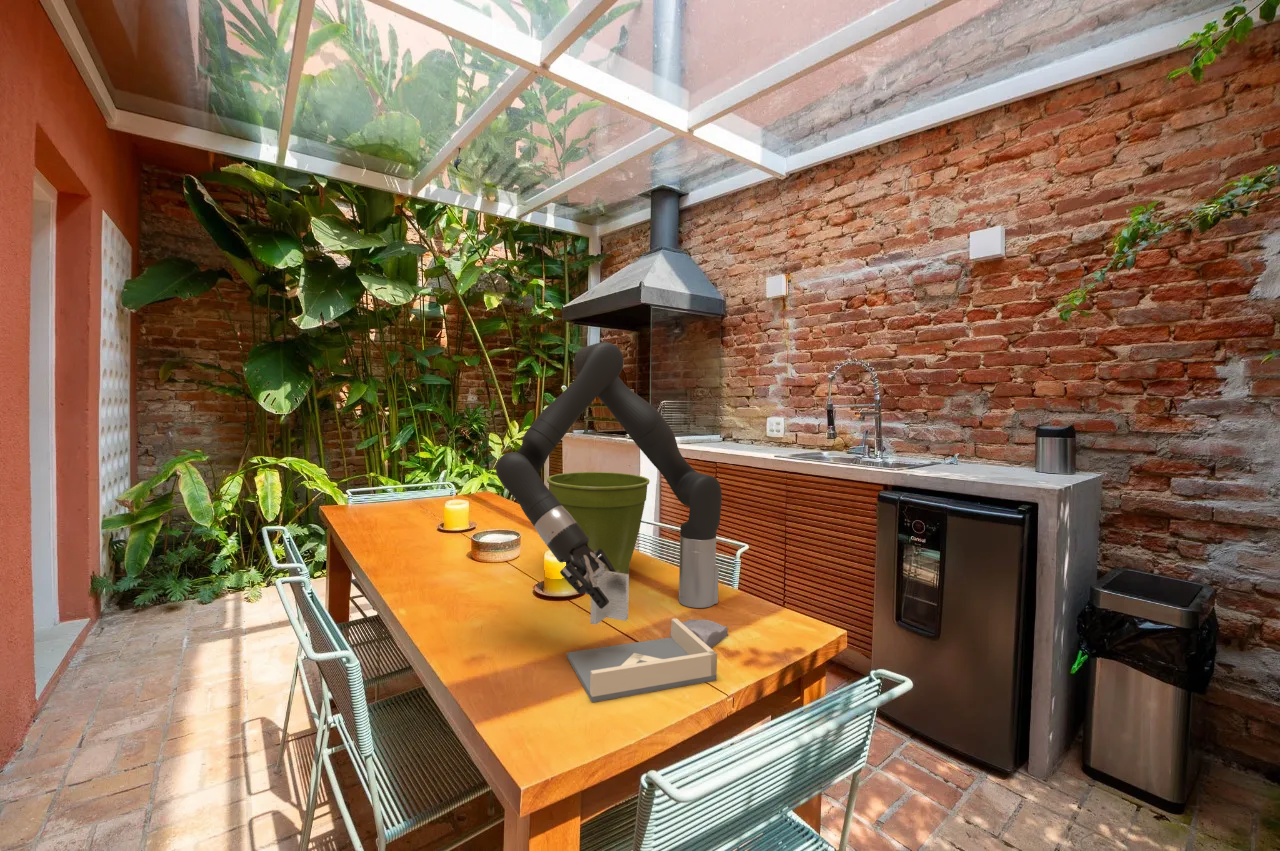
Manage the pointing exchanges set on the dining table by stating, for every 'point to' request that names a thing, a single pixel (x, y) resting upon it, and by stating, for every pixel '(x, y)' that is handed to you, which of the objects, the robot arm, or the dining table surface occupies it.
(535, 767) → the dining table surface
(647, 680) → the arena
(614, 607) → the bracket
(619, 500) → the plant pot
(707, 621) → the stone block
